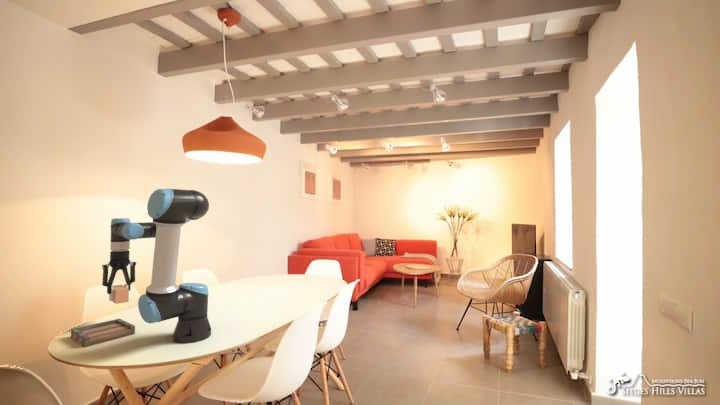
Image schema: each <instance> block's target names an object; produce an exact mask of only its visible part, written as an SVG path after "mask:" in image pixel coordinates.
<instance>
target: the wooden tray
mask: <svg viewBox="0 0 720 405" xmlns="http://www.w3.org/2000/svg"><path fill="white" fill-rule="evenodd" d="M70 331H71V332H70V339H72V340H73V341H75V342H76V343H78V344H79V345H80V346H82V347H83V348H88V347H92V346H94V345H99V344H103V343H105V342H110V341H114V340H117V339H121V338H122V339H123V338H125V337H130V336H133V335H135V333H136V325H134V324H132V323H130V322H128V321H126V320H123V319H121V318H116V319H111V320H107V321H106V320H105V321H104V322H103V321H102V322H98V323H94V324H90V325H85V326H81V327H77V328H76V327H75V328H71V330H70Z"/></svg>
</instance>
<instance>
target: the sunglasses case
mask: <svg viewBox="0 0 720 405" xmlns="http://www.w3.org/2000/svg"><path fill="white" fill-rule="evenodd" d="M112 286H113V287H114V292H113V301H112V302H113V303H114V304H115V305H116V304H118V305H119V304H123V303H129V298H130V297H129V295H130V293H129V292H130V291H129V289H128V288H126V287H125V286H124V284H117V285H116V284H114V285H112Z"/></svg>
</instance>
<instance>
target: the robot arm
mask: <svg viewBox="0 0 720 405" xmlns="http://www.w3.org/2000/svg"><path fill="white" fill-rule="evenodd" d="M146 208H147V209H146V210H147V215H148V216H149V218H152V222H131V219H130V218H129V217H124V218H123V217H121V218H119V217H116V218H115V217H114V218H112V219H111V221H110V247H109V248H110V250H111V251H109V262H108V263H106V264H102V265H101V267H102V269H103V270H102V283H101V284H102V286H103V287H106V292H107V294H108V298H109V301H110V302H113V292H114V287H113V286H114V285H113V284H114V281H115V278H116V274H118V273H117V272H118V271H122V274H123V278H124V280H125V283H124V284H123V286H125V287H126V288H128V289H129V292H130V291H131V285H132V284H133V283H135V282H136V265H137V262H136V261H131V260H130V248H131V247H130V243H131V241H132V240H138V239H151V238H153V239H155V240H154V251H153V260H152V270H151V282H150V284H149V285H148V286H147V287H146V289H145V293H144V294H142V295H140V296H139V298H138V301H137V307H138V312H139V315H140V316H141V319H142V320H143V321H144V322H145V323H147V324H155V323H161V322H163V321H167V320H171V319H175V318H177V323H176V326H175V327H174V328H175V329H174V331H173V333H172V334H173V335H172V339H173V342H177V343H180V344H181V343H183V344H187V343H189V344H190V343H195V342H200V341H203V340H205V339H208V338H209V337H211V335H212V327H211V324H210V321H209V318H208V310H209V304H208V303H209V286H208V285H206V284H205V283H198V282H183V283H180V284H179V285H178V284H176V278H177V270H178V260H179V259H178V258H179V251H180V250H179V248H180V242H181V238H180V237H181V230H182V227H183V226H184V225H185V224H187V223H189V222H191V221H196V220H199V219H201V218H202V217H204V216H205V215H206V214H207V213H208V211H209V208H210V202H209V200H208V197H207V196H206V195H205V194H204V193H202V191H201V192H200V191H198V190H193V189H179V188H169V187H168V188H157V189H156V190H154V191H153V192H152V193H151V194H150V196H149V198H148V200H147V207H146ZM128 266H129V267H130V268H129V271H128ZM109 268H111V270H110V275H109Z"/></svg>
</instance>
